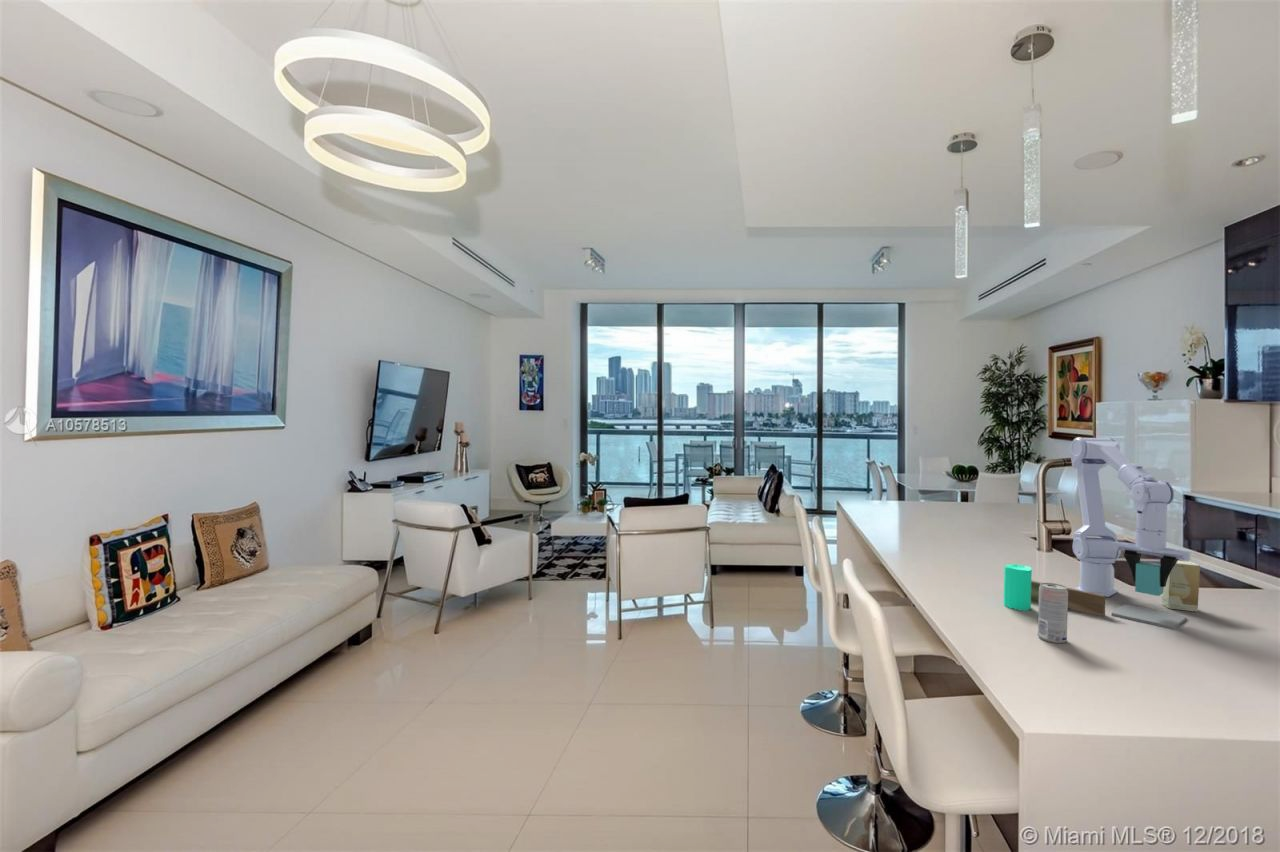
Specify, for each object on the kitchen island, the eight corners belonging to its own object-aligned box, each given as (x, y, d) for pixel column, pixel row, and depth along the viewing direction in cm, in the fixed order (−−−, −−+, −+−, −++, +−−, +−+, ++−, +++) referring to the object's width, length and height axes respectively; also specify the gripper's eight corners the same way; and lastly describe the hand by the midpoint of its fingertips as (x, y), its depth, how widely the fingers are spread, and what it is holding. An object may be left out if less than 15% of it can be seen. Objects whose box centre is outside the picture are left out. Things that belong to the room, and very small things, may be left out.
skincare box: (1168, 609, 154) (1169, 562, 154) (1160, 604, 158) (1162, 558, 158) (1199, 612, 152) (1201, 565, 152) (1191, 607, 156) (1192, 561, 156)
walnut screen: (1016, 595, 165) (1017, 577, 165) (1105, 615, 149) (1105, 595, 149) (1014, 596, 164) (1014, 578, 164) (1103, 616, 148) (1103, 596, 148)
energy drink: (1062, 636, 134) (1063, 583, 134) (1070, 645, 129) (1071, 590, 129) (1034, 633, 136) (1035, 581, 136) (1041, 641, 131) (1043, 587, 131)
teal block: (1140, 588, 151) (1140, 561, 151) (1163, 592, 147) (1164, 564, 147) (1135, 591, 148) (1135, 563, 148) (1158, 596, 144) (1159, 567, 144)
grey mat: (1125, 606, 156) (1125, 604, 156) (1186, 619, 147) (1186, 616, 147) (1111, 615, 149) (1111, 612, 149) (1174, 629, 139) (1174, 626, 139)
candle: (1022, 603, 158) (1024, 558, 158) (1035, 610, 152) (1036, 564, 152) (999, 602, 158) (1000, 557, 158) (1010, 609, 153) (1012, 563, 152)
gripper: (1110, 526, 151) (1108, 579, 151) (1186, 536, 139) (1184, 593, 140) (1118, 523, 155) (1117, 575, 155) (1193, 532, 144) (1191, 588, 144)
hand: (1149, 583), depth 148 cm, fingers closed on teal block, 4 cm apart
